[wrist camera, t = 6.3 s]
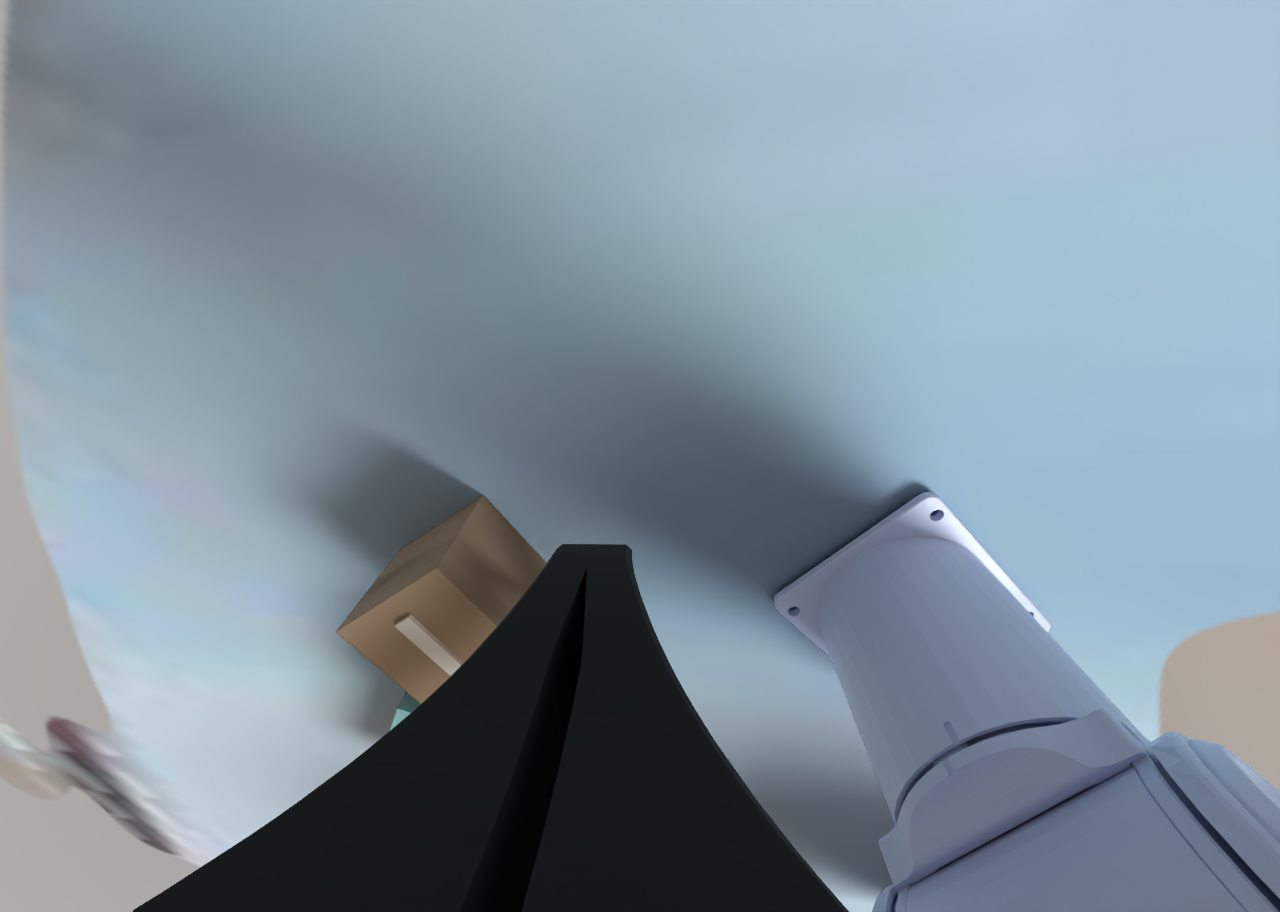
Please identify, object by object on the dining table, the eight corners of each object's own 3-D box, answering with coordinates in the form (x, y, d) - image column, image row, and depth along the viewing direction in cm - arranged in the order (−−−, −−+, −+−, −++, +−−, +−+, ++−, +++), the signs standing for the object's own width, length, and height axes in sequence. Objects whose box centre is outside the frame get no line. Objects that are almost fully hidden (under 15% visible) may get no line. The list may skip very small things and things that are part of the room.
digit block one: (559, 575, 23) (533, 666, 18) (477, 623, 24) (433, 719, 20) (484, 493, 21) (434, 571, 17) (400, 549, 23) (333, 635, 18)
